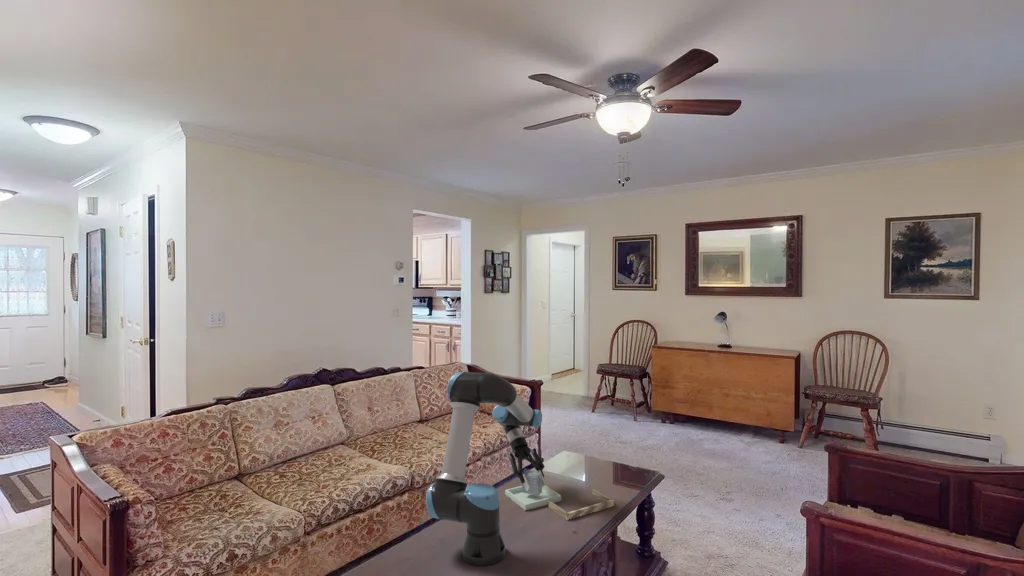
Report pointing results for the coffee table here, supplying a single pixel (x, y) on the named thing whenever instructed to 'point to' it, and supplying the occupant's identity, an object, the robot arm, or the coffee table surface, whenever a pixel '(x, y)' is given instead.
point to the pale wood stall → (583, 511)
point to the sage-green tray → (532, 497)
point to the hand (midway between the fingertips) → (536, 487)
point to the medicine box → (533, 483)
